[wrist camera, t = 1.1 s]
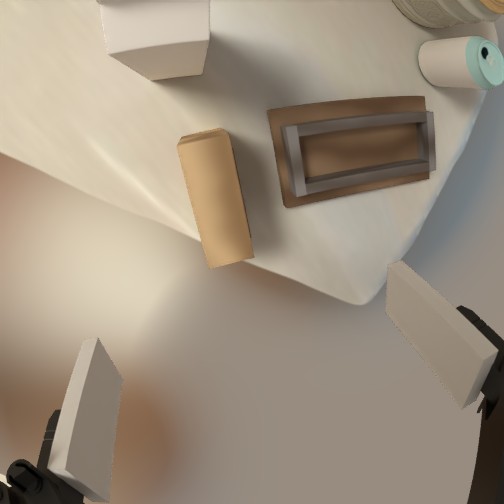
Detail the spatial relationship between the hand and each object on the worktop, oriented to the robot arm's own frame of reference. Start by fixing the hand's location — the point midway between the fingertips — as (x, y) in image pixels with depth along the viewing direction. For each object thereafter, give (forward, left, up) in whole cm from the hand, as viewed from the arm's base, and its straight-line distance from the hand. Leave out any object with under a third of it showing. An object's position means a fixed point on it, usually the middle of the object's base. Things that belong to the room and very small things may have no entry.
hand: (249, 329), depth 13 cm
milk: (-16, -1, -27) cm, 32 cm away
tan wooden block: (0, 0, -27) cm, 27 cm away
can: (-12, +34, -27) cm, 45 cm away
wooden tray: (-1, +19, -27) cm, 33 cm away
